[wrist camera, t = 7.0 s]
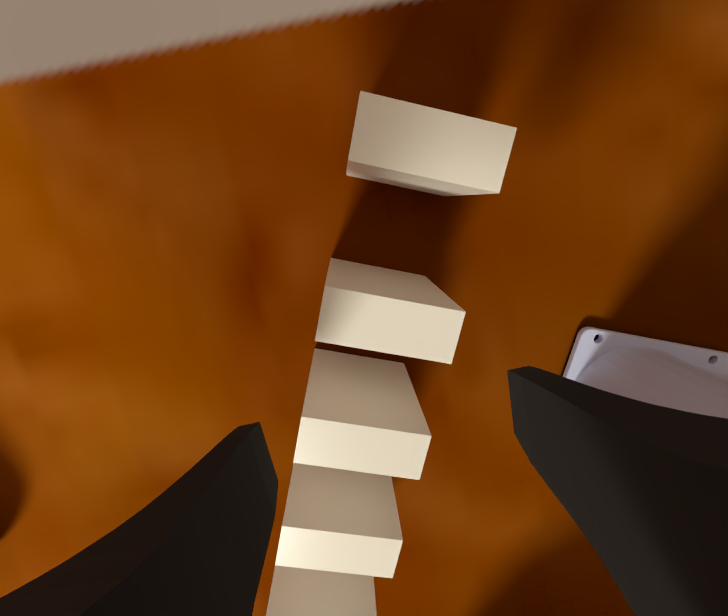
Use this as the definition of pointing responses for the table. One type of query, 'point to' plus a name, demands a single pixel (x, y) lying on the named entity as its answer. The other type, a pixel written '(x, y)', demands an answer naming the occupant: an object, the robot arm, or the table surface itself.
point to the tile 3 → (362, 417)
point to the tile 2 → (340, 522)
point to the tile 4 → (388, 312)
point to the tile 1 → (320, 593)
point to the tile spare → (427, 148)
